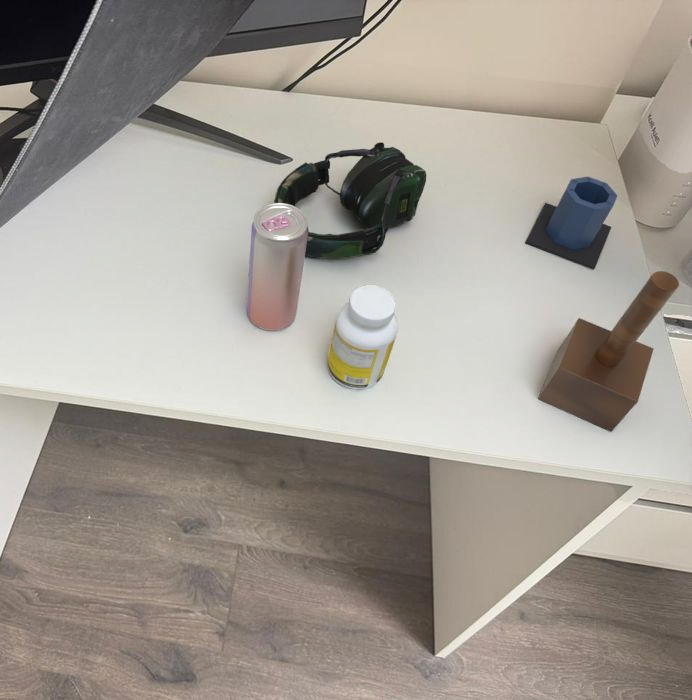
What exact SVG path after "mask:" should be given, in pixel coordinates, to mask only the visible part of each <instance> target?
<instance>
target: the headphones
mask: <svg viewBox="0 0 692 700" xmlns="http://www.w3.org/2000/svg"><path fill="white" fill-rule="evenodd" d="M346 157H361V158H360V159H359V160H358V161H357V162H356V163H355V164H354V166H353V167H352V168H351V169H350V170H349V172H348V173H346V174H347V175H346V176H345V178H344V179H343V181H342V184H341V188H340V191H337V190H335V189H334V188H333V187H331V186H330V185H329V183H330V169H331V161H330V160H331V159H336V158H346ZM426 171H427V170H425V169H423V168H422V167H421V166H419V165H417V164H414V163H413V162H412V161H410V160H409V159H407V157H406V155H405V154H404V152H402V150H400V149H398V148H396V147H394V146H390V147H385V143H384V142H376V143H375V144H374V146H373V147H372V148H369V149H367V148H357V149H345V150H339V151H337V152H332V153H328V154H326V155H325V157H324V160H320V161H317V162H314V163H313V162H309V163H308V162H307V161H305V162H304V163H302V164H301V165H299V166H298V167H296V168H295V169H294V170H292V171H291V172H289V173H288V175H286V176H285V177H284V178H283V179H282V181H281V182H280V184H279V185H278V187H277V189H276V192H275V196H274V202H273V204H274V203H285V204H289V205H293V206H295V207H297V206H296V205H297V203H299V202H300V201H301V200H303V199H306V198H307V197H309V196H311V195H312V194H314V193H316V192H317V191H318V190H319V186H322V185H325V186H326V188H327V189H329V190H330V191H332V193H334V194H336V195H338V196H339V203H340V204H341V206H342V208H344V209H345V210H347V211H348V212H351V213H352V214H354V215H355V216H356V217H357V219H358V221H359V222H360V224H361V225H362V226H363V227H364V228H365V229H364V228H360V229H358V230H356V231H351V232H344V233H339V234H333V233H326V234H325V233H324V234H323V233H316V232H311V231H308V239H307V245H306V252H305V256H307V257H311V258H313V259H331V260H332V259H334V260H338V259H339V260H341V259H348V258H353V257H361V256H363V255H364V256H365V255H366V256H368V255H372V254H375V253H377V252H378V251H379V250H380V249H381V248H382V247H383V245H384V242H385V239H386V235H387V232H388V230H389V228H393V227H397V226H400V225H403V224H405V222H410V221H412V220H413V217H414V216H416V212H417V209H418V205H419V202H420V199H421V197H422V194H423V192H424V190H425V186H426V182H427V172H426Z"/></svg>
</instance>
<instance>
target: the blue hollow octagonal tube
mask: <svg viewBox="0 0 692 700" xmlns="http://www.w3.org/2000/svg"><path fill="white" fill-rule="evenodd" d="M617 197H618V194H617V193H616V192H615V191H614V189H613V188H612V187H611V186H610V185H609V183H607V182H606V181H602V180H599V179H597V178H594V177H591V176H583V177H576V178H571V179H570V180H569V183H568V184H567V187H566V188H565V190H564V192H563V193H562V196H561V198H560V200H559V201H558V202H559V203H558V204H557V205H556V207H557V208H556V210H555V212H554V214H553V216H552V217H551V219H550V221H549V224H548V226H547V228H546V232H547V233H548V235H549V236H550V237H551V239H552V240H553V242H554V243H556V244H559V245H561V246H564V247H567V248H569V249H572V250H574V249H580V248H586V247H589V246H590V244H591V243H592V241H593V239H594V238H595V236H596V234H597V233H598V231H599V229H600V228H601V226H602V224H605V221H606V220H607V218H608V216H609V214H610V212H611V210H612V209H613V208H614V205H615V203H616V200H617Z"/></svg>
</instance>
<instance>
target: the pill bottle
mask: <svg viewBox="0 0 692 700" xmlns="http://www.w3.org/2000/svg"><path fill="white" fill-rule="evenodd" d="M396 308H397V302H396V299H395V297H394V295H393V294H392V293H391V292H390V291H389V290H387V288H384V287H382V286H380V285H374V284H366V285H362V286H358V287H357V288H355V289H354V290H353V291H352V292H351V294H350V296H349V300H348V302H347V303H345V304H344V305H343V306H342V307H341V308H340V309H339V310H338V312H337V314H336V318H335V323H334V327H333V331H332V337H331V342H330V346H329V351H328V356H327V363H326V364H327V370H328V372H329V374H330V375H331V377H332V378H333V379H334V381H335V382H337V383H338V384H339V385H342V386H343V387H346V388H349V389H354V390H364V389H368V388H371V387H373V386H374V385H377V383H379V382H380V381H381V379H382V378H383V375H384V374H385V371H386V368H387V365H388V362H389V359H390V356H391V354H392V351H393V348H394V344H395V341H396V338H397V335H398V332H399V322H398V321H399V320H398V317H397V315H396V314H395V313H396Z"/></svg>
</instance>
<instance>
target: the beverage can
mask: <svg viewBox="0 0 692 700" xmlns="http://www.w3.org/2000/svg"><path fill="white" fill-rule="evenodd" d="M250 230H251V232H250V247H249V248H250V249H249V262H248V263H249V265H248V280H247V296H246V313H247V317H248V319H249V320H250V321H251V323H253V324H254V325H255V326H256V327H257V328H260V329H262V330H266V331H273V332H274V331H279V330H282V329H285V328H286V327H288V326H289V325H291V324H292V323H293V322H294V320H295V318H296V316H297V313H298V304H299V299H300V292H301V286H302V285H301V284H302V279H303V272H304V264H305V259H306V255H305V252H306V245H307V239H308V232H309V222H308V217H307V216H306V213H305V212H303V211H302V210H301V209H300V208H298V207H297V206H296V207H295V206H293V205H289V204H285V203H274V202H273V203H270V204H269V203H268V204H266V205H264V206H262V207H261V208H259V209H258V211H256V213H255V215H254V218H253V221H252V224H251V229H250Z"/></svg>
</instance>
